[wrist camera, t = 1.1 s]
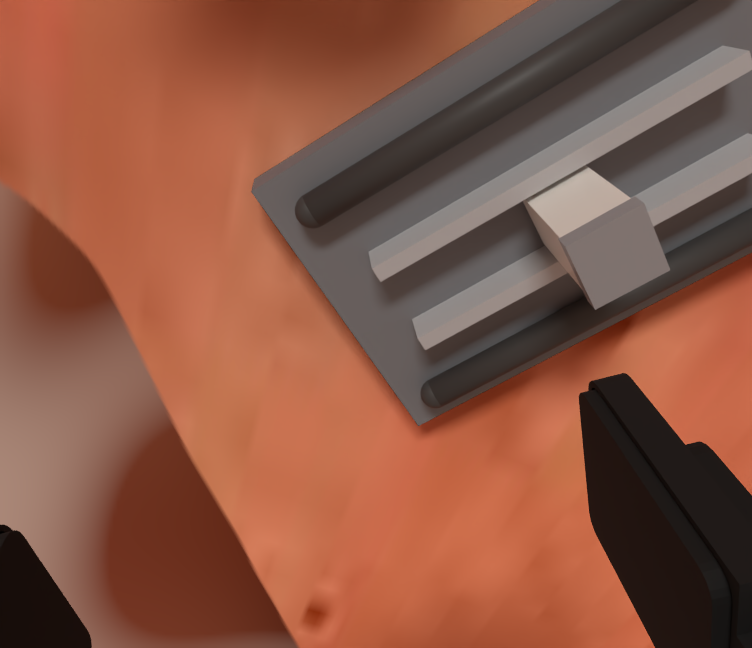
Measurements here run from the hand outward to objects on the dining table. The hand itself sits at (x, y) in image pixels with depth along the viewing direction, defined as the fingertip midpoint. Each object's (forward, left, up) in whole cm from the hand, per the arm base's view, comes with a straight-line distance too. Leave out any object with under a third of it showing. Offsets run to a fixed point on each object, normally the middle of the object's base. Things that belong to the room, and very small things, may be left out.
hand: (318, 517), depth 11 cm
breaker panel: (-9, +7, -24) cm, 26 cm away
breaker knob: (-9, +7, -21) cm, 24 cm away
